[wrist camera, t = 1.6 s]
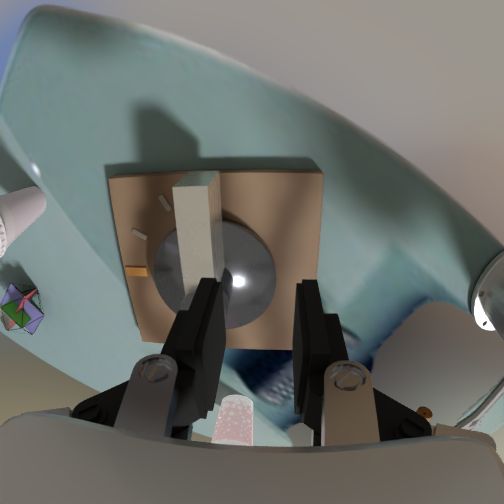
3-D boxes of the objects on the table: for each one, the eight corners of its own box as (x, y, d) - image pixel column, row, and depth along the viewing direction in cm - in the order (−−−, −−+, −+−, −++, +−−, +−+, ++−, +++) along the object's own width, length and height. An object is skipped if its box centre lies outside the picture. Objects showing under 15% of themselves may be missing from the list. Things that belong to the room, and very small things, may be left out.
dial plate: (321, 170, 28) (324, 174, 27) (307, 341, 37) (308, 350, 35) (115, 175, 30) (107, 179, 28) (146, 333, 38) (142, 342, 37)
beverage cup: (212, 391, 42) (195, 476, 30) (255, 390, 42) (247, 479, 29) (221, 415, 45) (208, 493, 32) (261, 414, 44) (255, 495, 32)
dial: (274, 323, 34) (273, 373, 27) (167, 318, 35) (146, 364, 28) (277, 167, 27) (278, 189, 20) (144, 171, 28) (106, 193, 21)
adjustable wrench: (527, 344, 37) (532, 350, 36) (541, 349, 38) (545, 355, 36) (443, 434, 48) (445, 441, 46) (461, 434, 48) (464, 441, 47)
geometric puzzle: (16, 266, 33) (-17, 312, 29) (52, 301, 35) (19, 348, 31) (24, 275, 39) (-5, 315, 35) (56, 305, 41) (27, 346, 37)
